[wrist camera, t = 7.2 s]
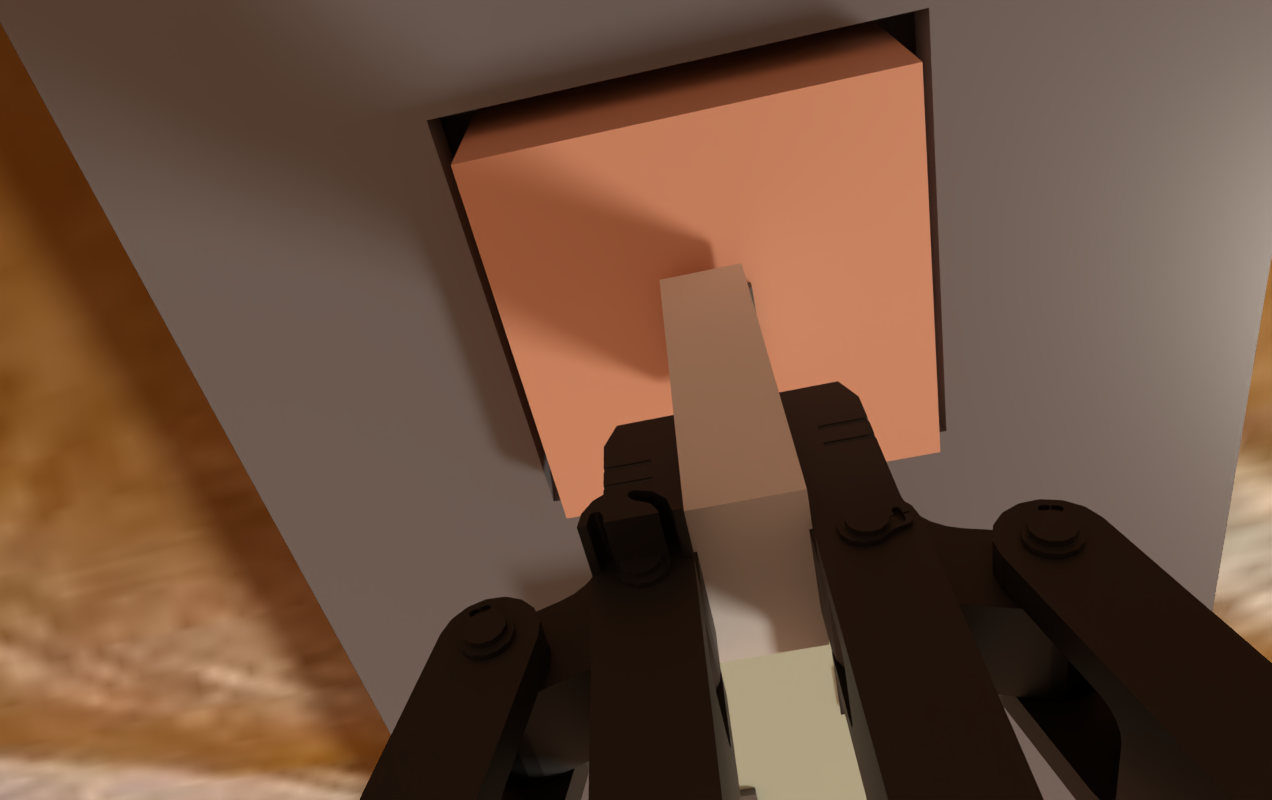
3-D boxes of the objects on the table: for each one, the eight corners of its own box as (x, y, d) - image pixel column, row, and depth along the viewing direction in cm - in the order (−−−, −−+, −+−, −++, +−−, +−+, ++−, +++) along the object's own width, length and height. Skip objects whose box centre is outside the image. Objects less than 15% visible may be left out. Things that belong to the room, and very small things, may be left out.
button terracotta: (872, 19, 18) (926, 64, 15) (898, 366, 22) (943, 457, 19) (476, 108, 19) (449, 168, 16) (573, 427, 23) (566, 524, 20)
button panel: (1192, -312, 18) (1372, -348, 14) (1090, 866, 39) (1148, 995, 35) (120, -43, 20) (-14, -2, 16) (576, 934, 41) (571, 1064, 37)
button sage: (913, 511, 24) (958, 617, 21) (927, 712, 28) (965, 826, 25) (609, 563, 25) (607, 673, 22) (667, 752, 29) (672, 867, 26)
